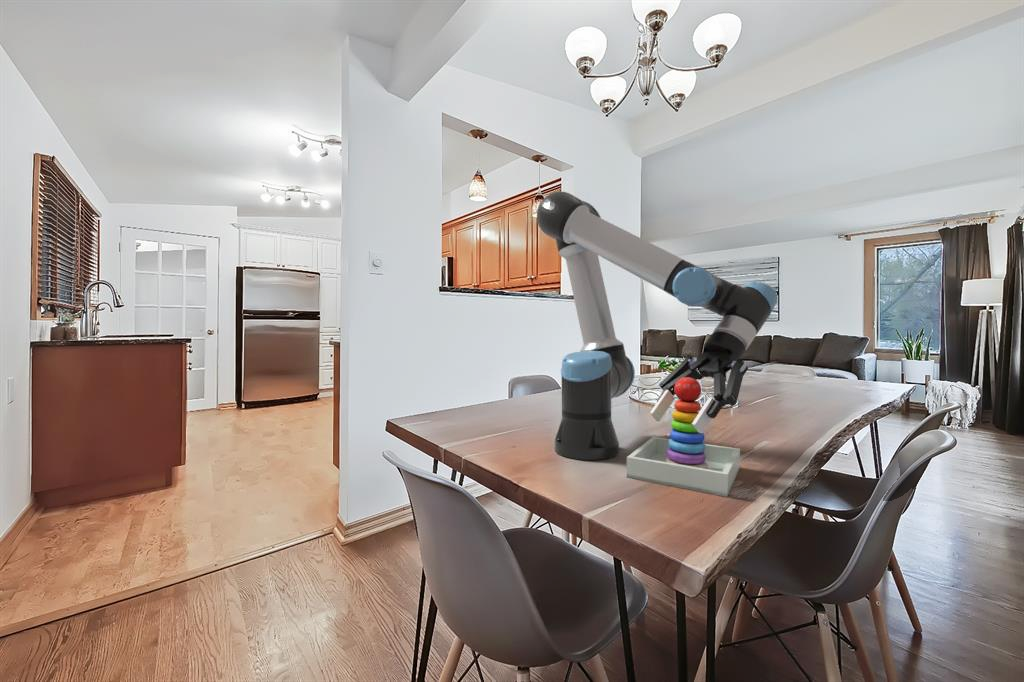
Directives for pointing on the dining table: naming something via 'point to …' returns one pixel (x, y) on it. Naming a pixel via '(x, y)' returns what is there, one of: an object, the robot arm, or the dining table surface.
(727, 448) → the tray
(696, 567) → the dining table surface
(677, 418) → the stacking toy
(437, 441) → the dining table surface
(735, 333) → the robot arm
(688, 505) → the dining table surface
